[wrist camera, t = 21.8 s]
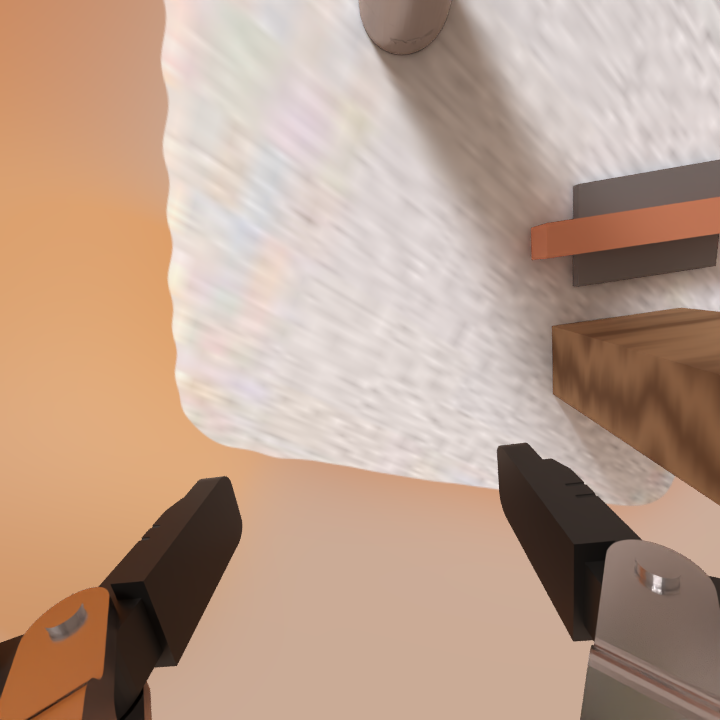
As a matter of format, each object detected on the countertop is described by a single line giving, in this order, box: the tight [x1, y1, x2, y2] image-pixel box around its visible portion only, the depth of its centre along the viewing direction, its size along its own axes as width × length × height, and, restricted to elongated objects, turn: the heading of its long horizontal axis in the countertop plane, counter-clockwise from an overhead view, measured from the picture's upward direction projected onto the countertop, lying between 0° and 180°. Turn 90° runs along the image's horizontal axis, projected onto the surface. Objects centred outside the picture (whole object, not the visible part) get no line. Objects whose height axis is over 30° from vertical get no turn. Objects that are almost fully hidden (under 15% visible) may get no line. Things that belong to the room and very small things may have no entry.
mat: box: [573, 160, 720, 286], centre depth 37 cm, size 11×15×1 cm
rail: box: [531, 197, 720, 260], centre depth 35 cm, size 4×22×4 cm, turn 98°
